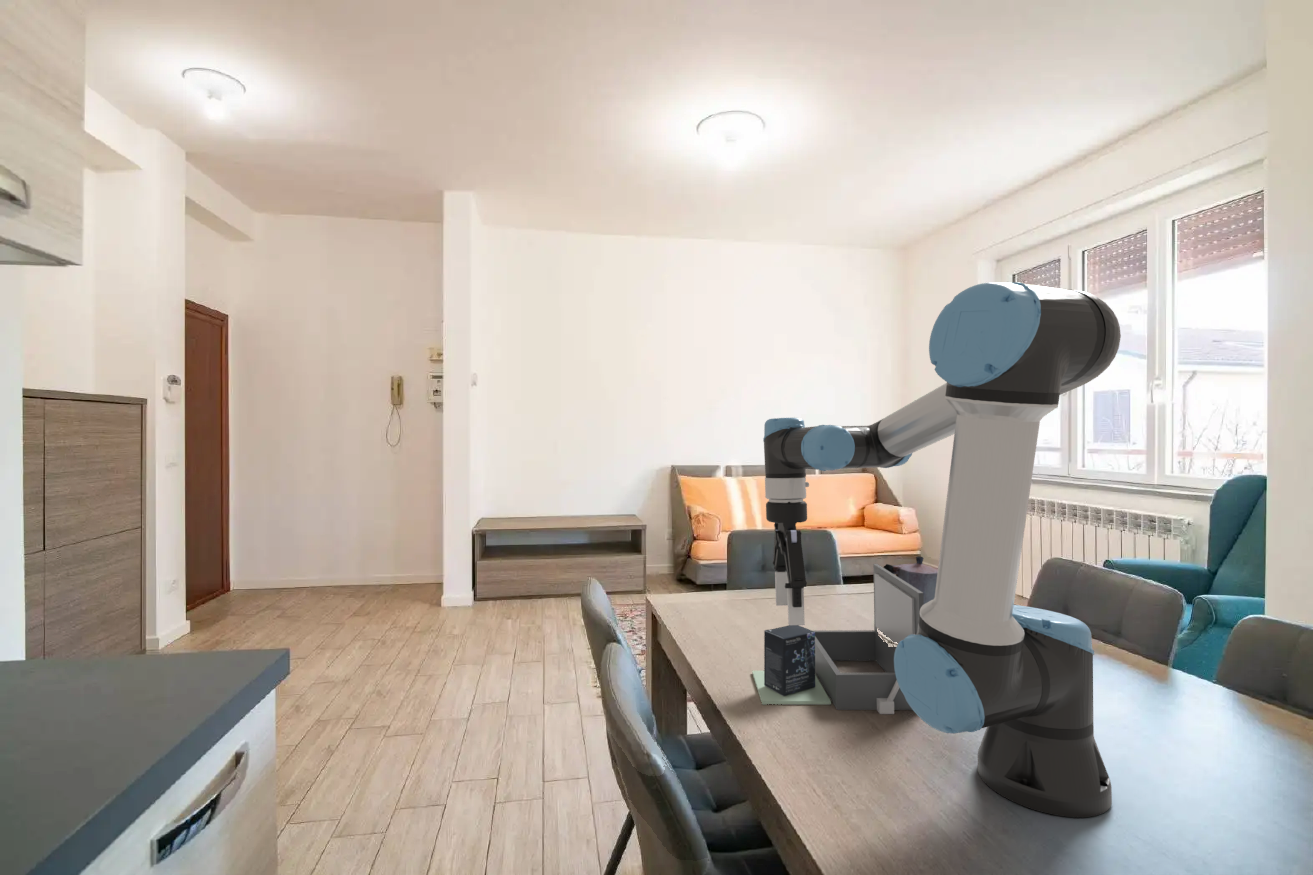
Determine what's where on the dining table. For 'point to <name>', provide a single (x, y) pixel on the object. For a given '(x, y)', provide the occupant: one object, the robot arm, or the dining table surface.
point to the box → (789, 659)
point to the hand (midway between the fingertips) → (789, 614)
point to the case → (870, 649)
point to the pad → (798, 698)
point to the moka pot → (917, 576)
